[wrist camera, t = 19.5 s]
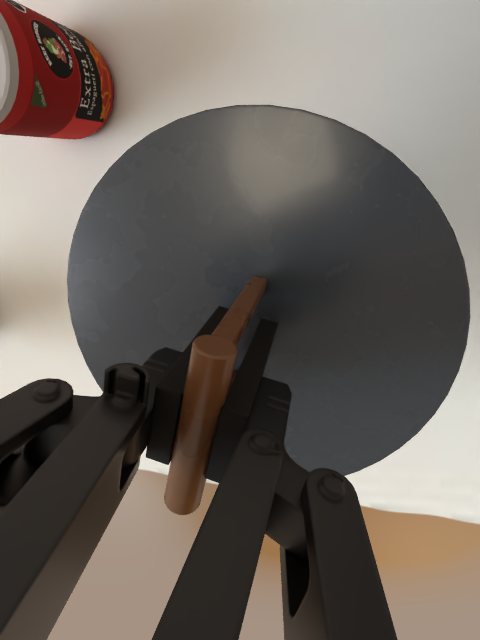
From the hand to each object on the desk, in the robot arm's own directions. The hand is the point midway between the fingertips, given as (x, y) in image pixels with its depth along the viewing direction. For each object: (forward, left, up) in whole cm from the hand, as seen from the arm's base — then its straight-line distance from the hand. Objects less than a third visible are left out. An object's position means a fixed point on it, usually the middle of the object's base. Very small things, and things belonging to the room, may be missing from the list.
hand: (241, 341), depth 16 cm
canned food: (+21, -9, -17) cm, 28 cm away
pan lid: (0, 0, -1) cm, 1 cm away
